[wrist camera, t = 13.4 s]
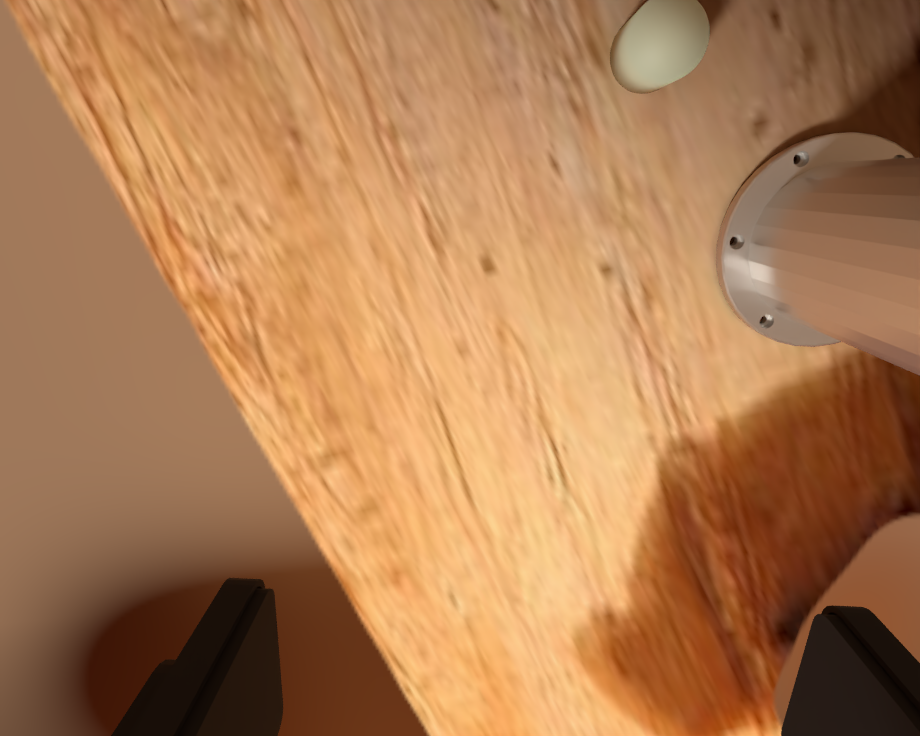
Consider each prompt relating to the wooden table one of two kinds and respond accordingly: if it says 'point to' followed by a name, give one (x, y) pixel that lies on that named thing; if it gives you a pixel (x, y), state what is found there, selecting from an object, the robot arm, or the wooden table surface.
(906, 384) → the wooden table surface
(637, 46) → the sage painted capsule
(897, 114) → the wooden table surface
